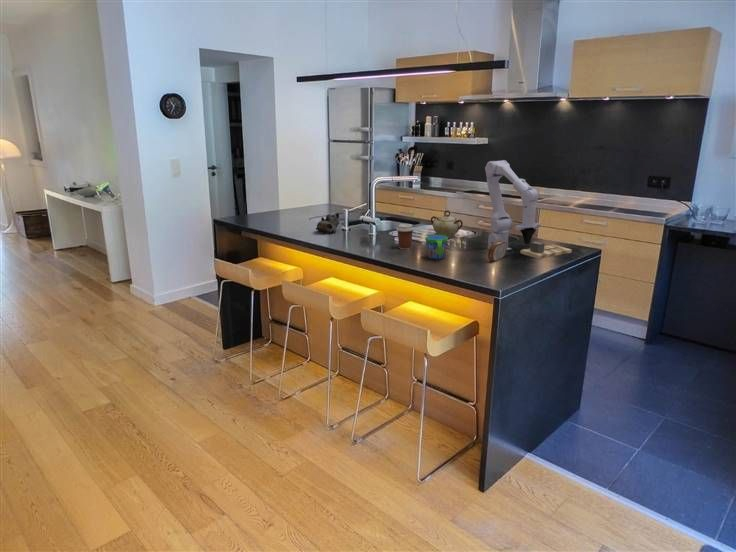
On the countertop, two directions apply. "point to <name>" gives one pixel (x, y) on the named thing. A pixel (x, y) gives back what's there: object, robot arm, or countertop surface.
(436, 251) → the snack cup
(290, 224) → the countertop surface
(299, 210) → the countertop surface
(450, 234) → the sugar bowl
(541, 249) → the fader knob
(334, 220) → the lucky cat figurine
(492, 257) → the tin
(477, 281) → the countertop surface
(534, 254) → the fader board
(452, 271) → the countertop surface
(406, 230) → the coffee cup
